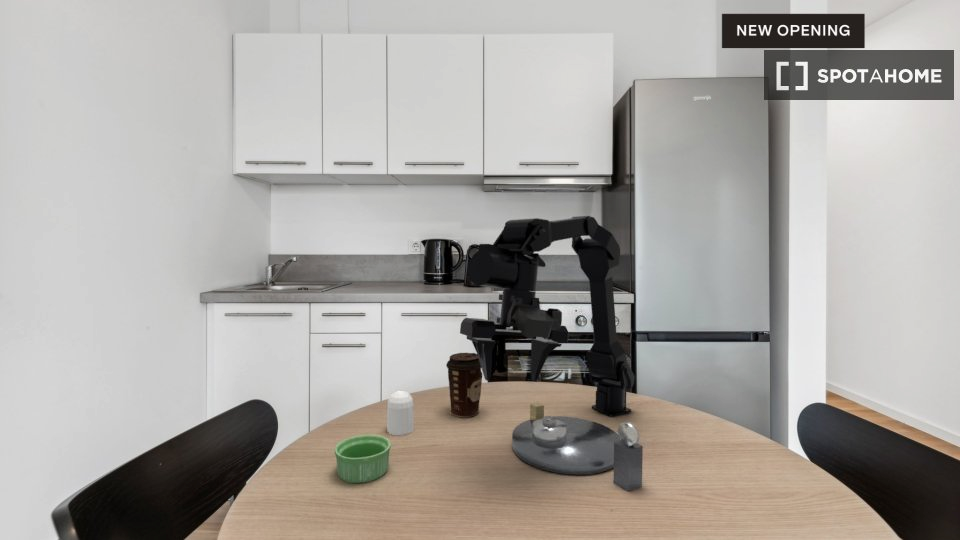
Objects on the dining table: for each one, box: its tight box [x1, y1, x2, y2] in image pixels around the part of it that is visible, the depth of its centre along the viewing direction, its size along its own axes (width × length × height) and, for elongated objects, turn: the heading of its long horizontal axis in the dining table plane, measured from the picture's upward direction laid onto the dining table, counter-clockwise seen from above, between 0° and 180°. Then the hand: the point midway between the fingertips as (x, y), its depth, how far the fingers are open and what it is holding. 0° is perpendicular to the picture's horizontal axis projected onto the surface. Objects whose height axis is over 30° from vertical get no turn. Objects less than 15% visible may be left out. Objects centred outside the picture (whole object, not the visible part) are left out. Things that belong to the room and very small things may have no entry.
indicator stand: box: [612, 421, 644, 493], centre depth 69 cm, size 3×3×10 cm
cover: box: [533, 415, 566, 449], centre depth 79 cm, size 6×6×4 cm
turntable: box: [511, 402, 621, 476], centre depth 81 cm, size 20×20×5 cm
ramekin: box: [334, 434, 392, 484], centre depth 73 cm, size 9×9×4 cm
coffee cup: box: [445, 352, 483, 418], centre depth 99 cm, size 9×8×13 cm
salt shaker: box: [386, 390, 415, 436], centre depth 89 cm, size 5×5×8 cm
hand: (511, 380), depth 76 cm, fingers open, 9 cm apart
